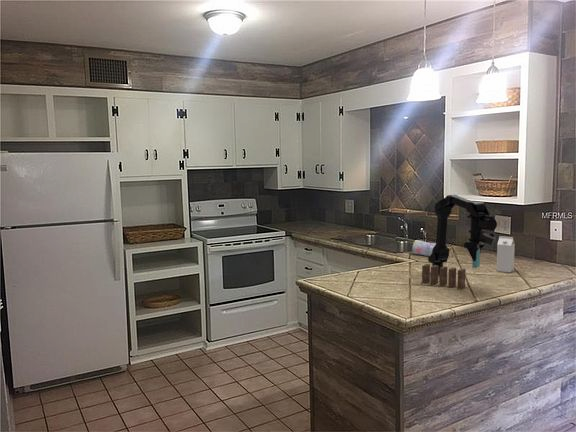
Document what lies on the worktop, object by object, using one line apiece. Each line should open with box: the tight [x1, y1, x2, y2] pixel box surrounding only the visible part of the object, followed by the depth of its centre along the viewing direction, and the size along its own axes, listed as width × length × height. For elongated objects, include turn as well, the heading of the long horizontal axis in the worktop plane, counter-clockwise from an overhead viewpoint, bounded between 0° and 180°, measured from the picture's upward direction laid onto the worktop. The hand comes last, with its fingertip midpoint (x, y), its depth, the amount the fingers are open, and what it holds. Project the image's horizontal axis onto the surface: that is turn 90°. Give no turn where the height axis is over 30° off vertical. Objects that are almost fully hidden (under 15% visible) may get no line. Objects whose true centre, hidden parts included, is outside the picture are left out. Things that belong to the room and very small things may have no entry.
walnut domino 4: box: [447, 266, 457, 289], centre depth 236 cm, size 2×5×9 cm, turn 141°
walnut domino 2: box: [430, 265, 439, 286], centre depth 242 cm, size 2×5×9 cm, turn 140°
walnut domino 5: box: [456, 268, 466, 290], centre depth 233 cm, size 2×5×9 cm, turn 141°
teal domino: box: [471, 249, 481, 269], centre depth 233 cm, size 2×5×9 cm, turn 142°
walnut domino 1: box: [421, 263, 431, 285], centre depth 244 cm, size 2×5×9 cm, turn 141°
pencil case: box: [411, 239, 436, 257], centre depth 306 cm, size 21×9×10 cm, turn 49°
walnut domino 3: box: [438, 265, 448, 287], centre depth 239 cm, size 2×5×9 cm, turn 141°
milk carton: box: [496, 235, 516, 273], centre depth 264 cm, size 7×7×19 cm
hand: (476, 260), depth 233 cm, fingers closed on teal domino, 5 cm apart
